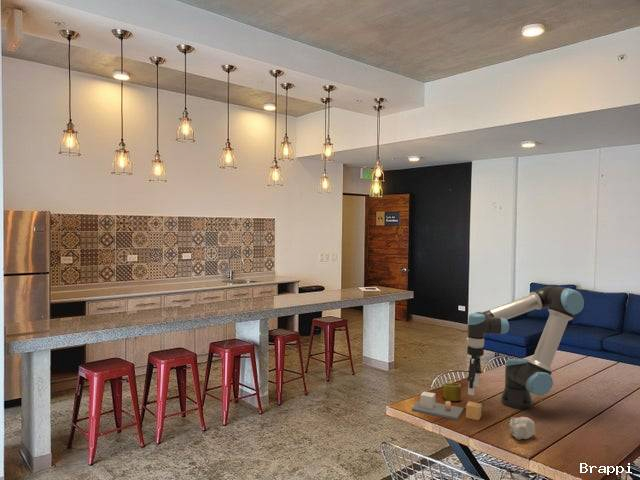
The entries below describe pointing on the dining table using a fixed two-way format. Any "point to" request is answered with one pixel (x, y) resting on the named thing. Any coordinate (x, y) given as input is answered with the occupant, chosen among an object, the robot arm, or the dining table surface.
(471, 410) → the light orange cube
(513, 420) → the white lumpy piece
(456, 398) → the mug
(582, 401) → the dining table surface
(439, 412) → the board
